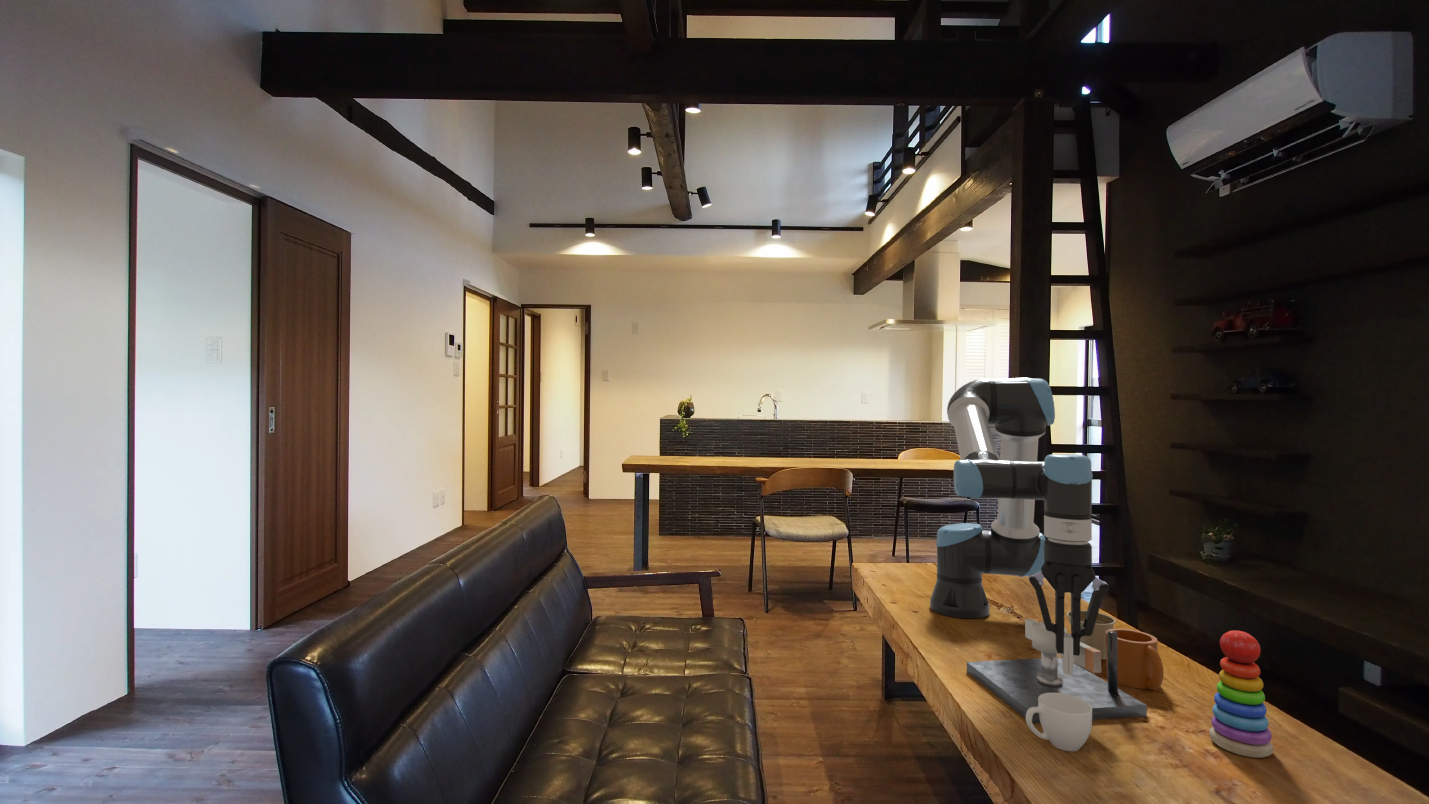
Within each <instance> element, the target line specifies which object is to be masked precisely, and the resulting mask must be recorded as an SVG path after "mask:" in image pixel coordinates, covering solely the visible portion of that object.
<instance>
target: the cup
mask: <svg viewBox="0 0 1429 804" xmlns="http://www.w3.org/2000/svg"><path fill="white" fill-rule="evenodd" d="M1034 713H1039V719H1040V723H1039V724H1041V728H1042V731H1043V732H1041V731H1039V730H1038V729H1037V728H1036V727H1035V725H1034V723H1032V717H1033V714H1034ZM1025 722H1026V725H1027V727H1028V728H1029V730H1030V731H1031V732H1032V733H1033V734H1034V735H1036V736H1037V737H1039V738H1040V739H1042V740H1046V741H1047V740H1048V741H1049V742H1050V743H1051V745H1052V746H1054V747H1055V748H1056V749H1059V750H1062V751H1064V752H1065V751H1066V752H1077V751H1079V750H1080V749H1081V748H1082V747H1084V745H1085V743H1086V742H1087V740H1088V738H1089V737H1090V734H1091V731H1092V726H1093V720H1092V707H1091V706H1090V705H1089V704H1088V703H1087V702H1085V701H1084V700H1082V699H1080V698H1077V697H1074V696H1071V695H1067V694H1062V693H1044V694H1041V695H1040V696H1039V697H1038V707H1031V708H1029V709H1028V710H1027V713H1026V718H1025Z"/></svg>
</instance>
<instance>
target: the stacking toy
mask: <svg viewBox="0 0 1429 804" xmlns="http://www.w3.org/2000/svg"><path fill="white" fill-rule="evenodd" d="M1219 647H1220V649H1221V651H1222V653H1223V655H1224V656H1225V657H1223V658H1222V659H1220V662H1219V666H1220V667H1221V670H1220V672H1219V673H1218V677H1219V680H1220V681H1218V682H1217V684H1216V691H1217V692H1216V693H1215V694H1214V697H1213V700H1214V703H1215V704H1213V706H1212V710H1211V711H1212V714H1213V716H1212V717H1211V725H1212V726H1211V727H1210V729H1209V731H1208V733H1209V736H1210V737H1209V738H1210V739H1211V741H1213V743H1214V744H1215V745H1217V746H1219V748H1221V749H1223V750H1226V751H1228V752H1230V753H1232V754H1236V755H1239V756H1243V757H1248V758H1259V759H1262V758H1266V757H1267V758H1268V757H1269V756H1271V755H1273V752H1274V746H1273V744H1272V742H1271V740H1272V737H1273V736H1272V732H1271V730H1270V729H1269V719H1268V718H1267V717H1266V714H1267V711H1268V709H1267V706H1266V705H1265V703H1264V702H1265V700H1266V695H1265V694H1264V692H1263V688H1264V682H1263V680H1262V678H1260V677H1259V676H1260V675H1261V669H1260V667H1259V665H1258V664H1257V663H1255V662H1256V661H1257V660H1258V659H1259V658H1260V655H1261V651H1262V649H1261V645H1260V644H1259V641H1258V640H1257V639H1256V638H1255V636H1252V635H1251V634H1250V633H1248V632H1246V631H1241V630H1229V631H1226V632H1225V633H1223V634H1222V636H1220V640H1219Z"/></svg>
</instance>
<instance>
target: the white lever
mask: <svg viewBox="0 0 1429 804" xmlns="http://www.w3.org/2000/svg"><path fill="white" fill-rule="evenodd" d="M1024 627H1025V628H1024V631H1025V632H1024V633H1025V634H1024V635H1025V638H1027V639H1028V640H1030V641H1031V647H1032V648H1033V649H1034V650H1037V651H1038V652H1041V651H1042V652H1045V653H1051V654H1057V655H1059V656H1060V657H1062V654H1061V653H1058V652H1057V650H1056V634H1055V633H1053V632H1051V631H1047V630H1046V628H1045V625H1044V621H1043V622H1042V621H1040V622H1039V621H1037V620H1035V619H1033V618H1025V619H1024ZM1064 633H1067V628H1066V627H1065V626H1064ZM1073 663H1075V664H1077V665H1078V666H1080V667H1082V668H1084V669H1085V670H1087V671H1089V672H1091V673H1092V674H1101V673H1102V659H1101V651H1099V650H1097V649H1095V648H1093V647H1090V646H1088V645H1086V644H1084V643H1081V642H1080V654H1079V656H1076V655H1073Z"/></svg>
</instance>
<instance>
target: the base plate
mask: <svg viewBox="0 0 1429 804" xmlns="http://www.w3.org/2000/svg"><path fill="white" fill-rule="evenodd" d="M1040 654H1041V656H1040V657H1039V658H1024V659H1023V658H1022V659H1020V658H1019V659H1004V660H1003V659H1002V660H1001V659H1000V660H978V661H966V672H967V673H968V675H970V676H972V677H973V678H974V679H976V680H977V681H978V682H979V683H980V684H981V685H983V686H984V687H985V688H986V689H988V690H989V691H991V692H992V693H993V694H995V696H997V697H998V698H999V699H1000V700H1002V701H1003V702H1004V703H1005V704H1007V705H1008V706H1009V707H1010V708H1012V709H1013V710H1014V711H1016V713H1018V714H1019V715H1020V716H1021V717H1023V718H1024V719H1026V713H1027V710H1028V709H1029V708H1031V707H1038V697H1039V696H1040V695H1041V694H1044V693H1062V694H1067V695H1071V696H1074V697H1077V698H1080V699H1082V700H1084V701H1085V702H1087V703H1088V704H1089V705H1090V706H1091V707H1092V721H1094V720H1105V719H1107V720H1108V719H1125V718H1126V719H1127V718H1140V717H1141V718H1142V717H1143V718H1145V717H1147V716H1148V711H1147V708H1148V705H1147V704H1146V703H1144V702H1142V701H1141V700H1138V699H1137V698H1135V697H1134V696H1132V695H1130V694H1128V693H1127V692H1125V691H1123V690H1122V689H1120V688H1119V684H1118V654H1117V632H1114V631H1107V662H1108V677H1107V681H1106V680H1105V679H1102V678H1101V677H1099V676H1097V675H1096V674H1095V673H1092V672H1090V671H1089V670H1087V669H1085V668H1084V667H1082V666H1080V665H1078V664H1076V663H1074V662H1073V675H1067V674H1064V672H1063V669H1062V656H1060V657H1058V654H1051V653H1045V652H1042V651H1040ZM1032 723H1033V724H1038V723H1039V724H1041V723H1040V719H1039V713H1034V714H1033V717H1032Z"/></svg>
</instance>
